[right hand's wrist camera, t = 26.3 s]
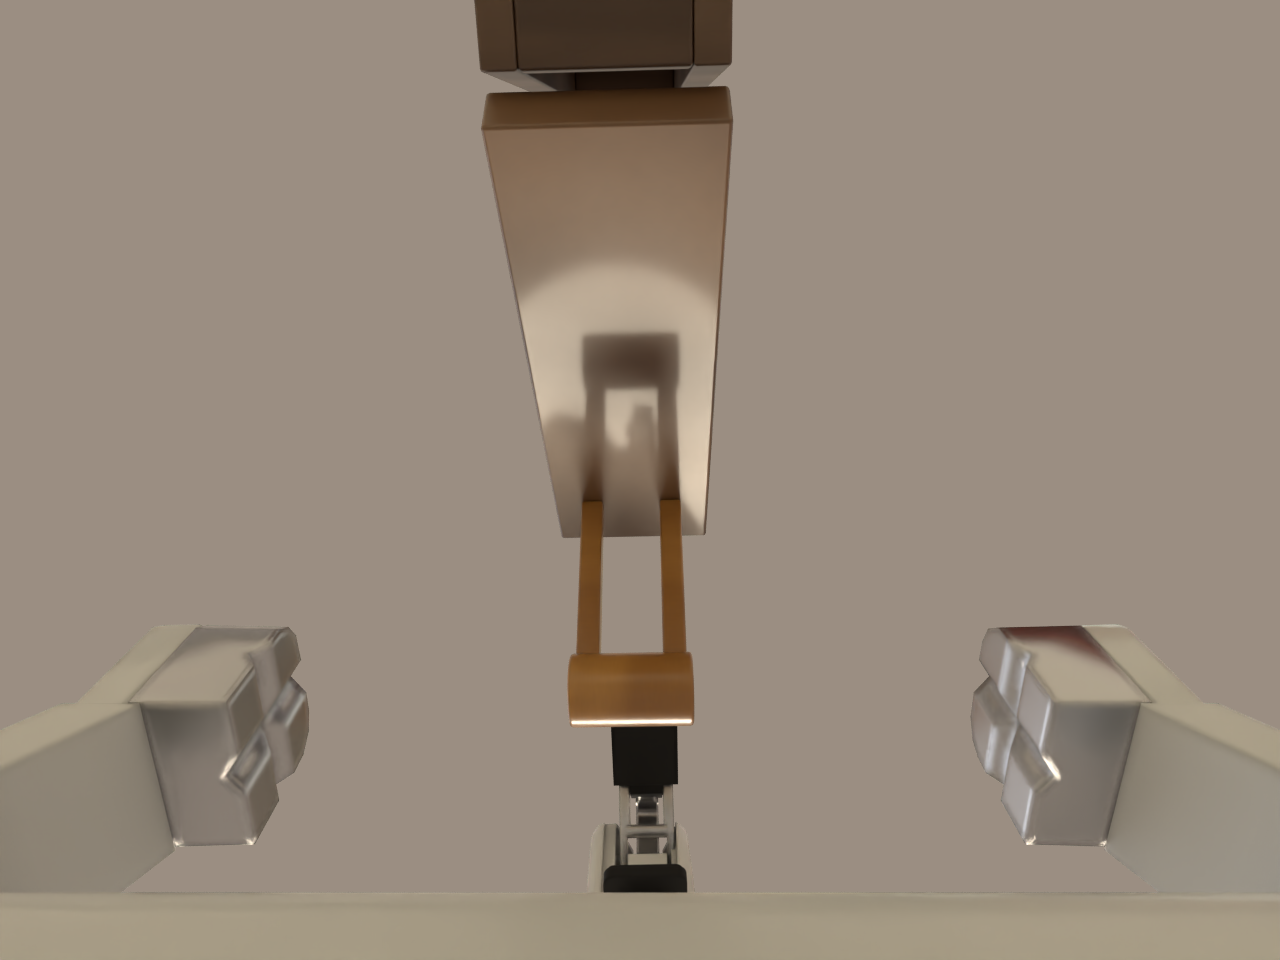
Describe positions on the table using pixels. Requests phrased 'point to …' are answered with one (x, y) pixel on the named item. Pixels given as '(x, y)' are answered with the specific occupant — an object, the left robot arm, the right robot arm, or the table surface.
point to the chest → (604, 43)
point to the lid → (619, 342)
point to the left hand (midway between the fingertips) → (644, 783)
